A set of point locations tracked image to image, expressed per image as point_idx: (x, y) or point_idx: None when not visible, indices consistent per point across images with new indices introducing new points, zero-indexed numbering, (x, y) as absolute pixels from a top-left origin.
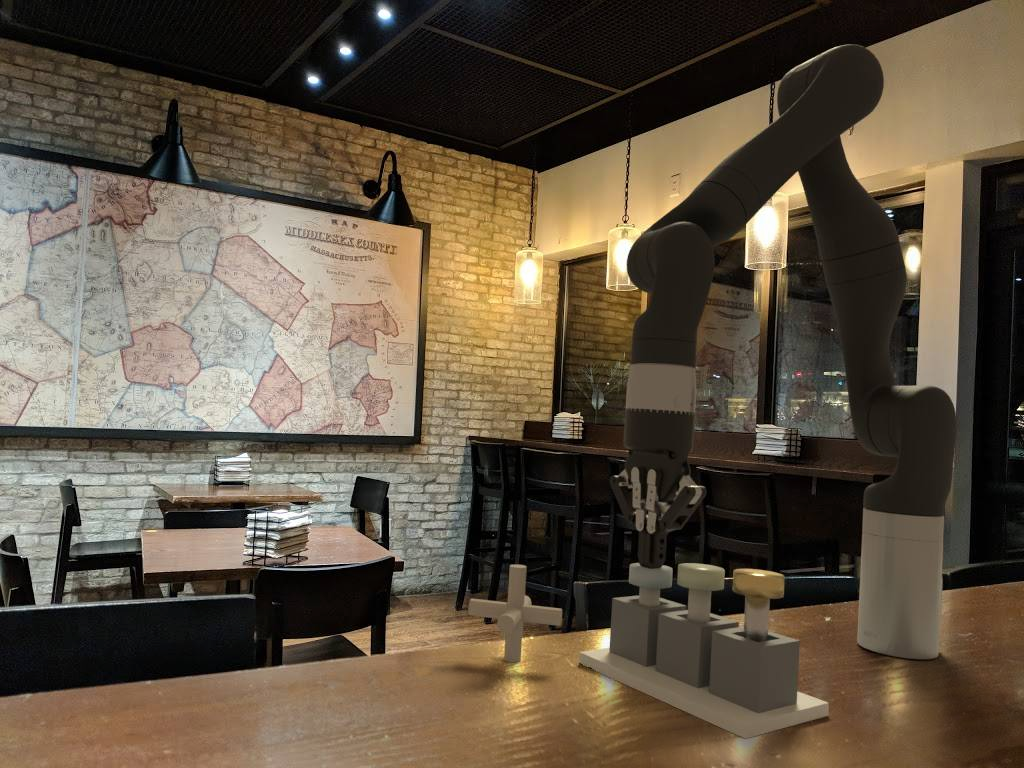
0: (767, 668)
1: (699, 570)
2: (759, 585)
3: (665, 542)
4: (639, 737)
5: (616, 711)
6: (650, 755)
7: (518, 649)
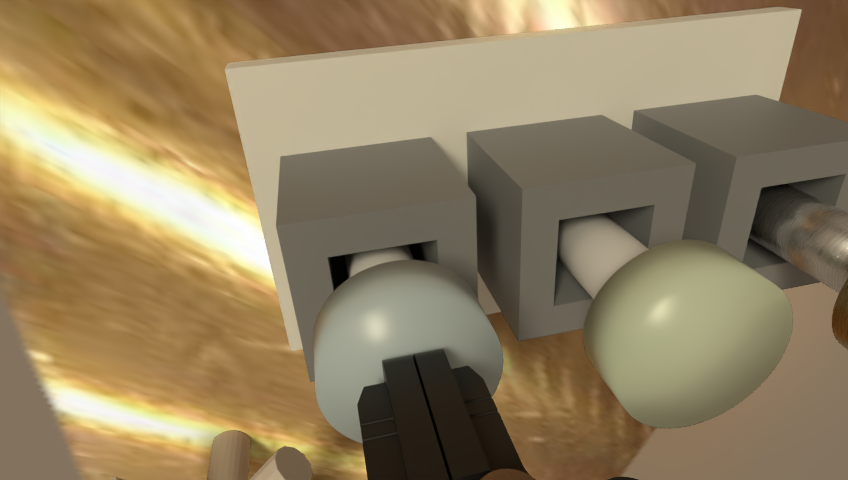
0: None
1: (731, 393)
2: None
3: (510, 445)
4: None
5: (539, 377)
6: None
7: (247, 460)
